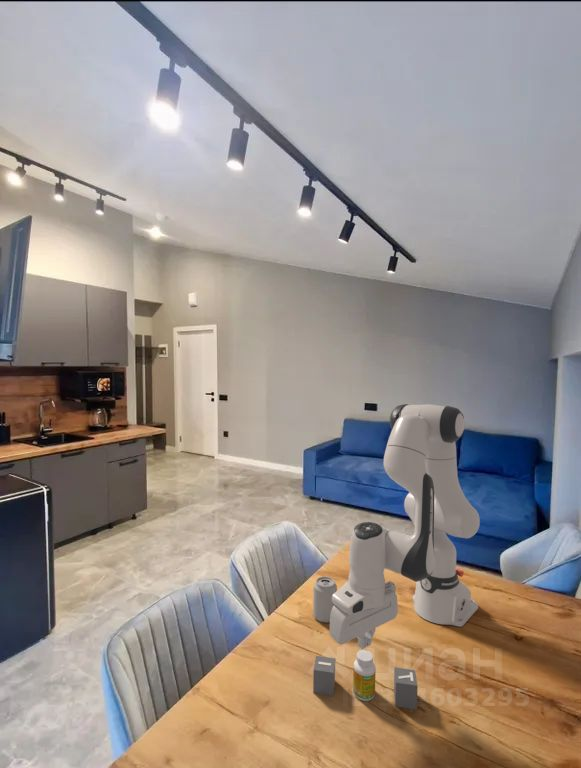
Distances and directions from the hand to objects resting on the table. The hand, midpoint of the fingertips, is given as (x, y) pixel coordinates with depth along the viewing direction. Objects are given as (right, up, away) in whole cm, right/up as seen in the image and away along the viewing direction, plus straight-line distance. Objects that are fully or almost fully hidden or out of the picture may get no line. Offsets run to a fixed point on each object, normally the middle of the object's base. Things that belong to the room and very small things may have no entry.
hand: (364, 645), depth 101 cm
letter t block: (+10, -13, -1) cm, 16 cm away
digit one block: (-10, -12, +3) cm, 16 cm away
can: (-7, -11, +31) cm, 33 cm away
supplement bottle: (0, -12, +1) cm, 12 cm away
